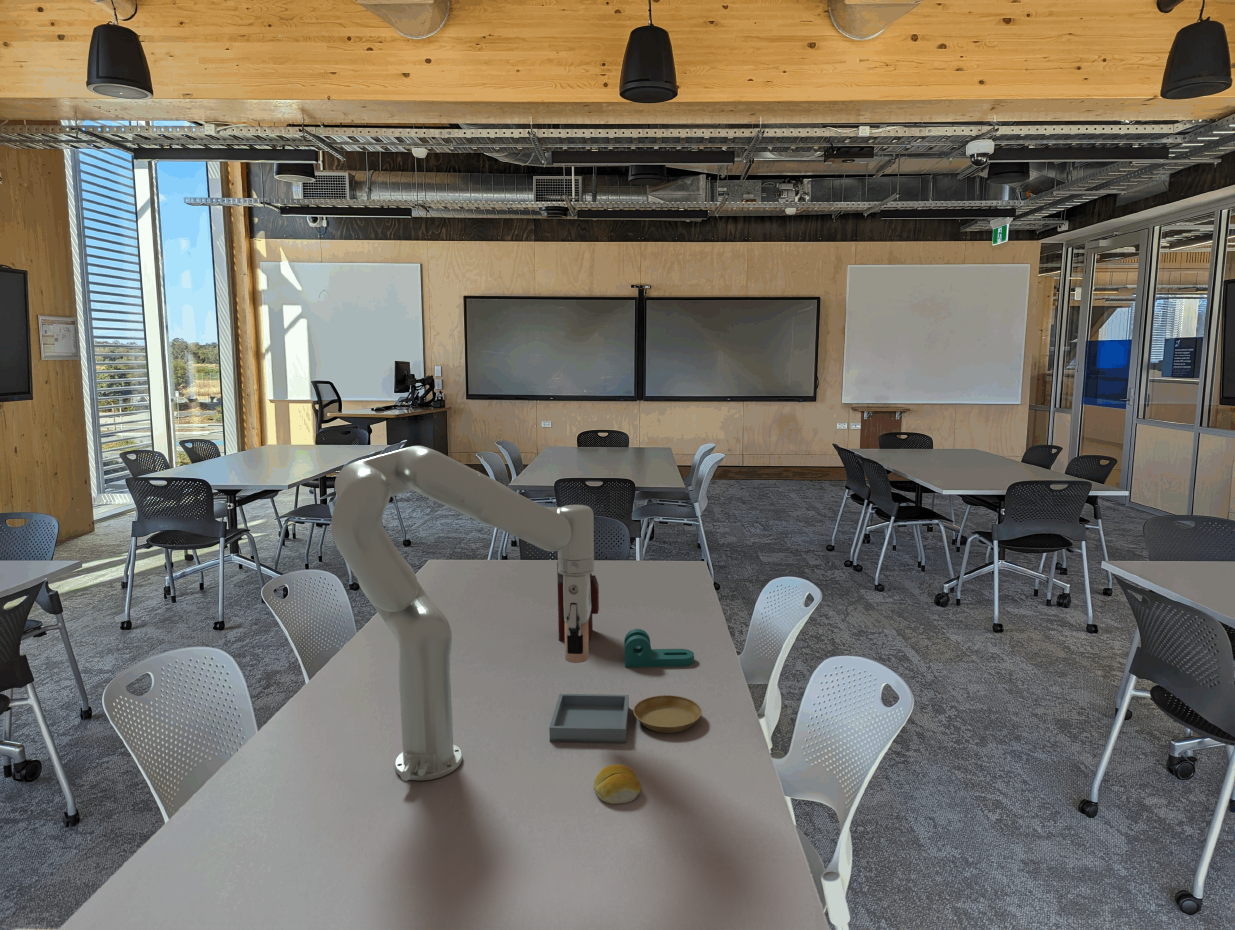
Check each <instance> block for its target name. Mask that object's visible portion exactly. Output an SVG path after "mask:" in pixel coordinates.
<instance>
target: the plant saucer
mask: <svg viewBox="0 0 1235 930" xmlns="http://www.w3.org/2000/svg"><path fill="white" fill-rule="evenodd" d="M632 712H633V715H634V717H635V718H636V719H637V721H638V722H640V724H641V725H643V726H644V727H645V728H647V729H649V730H651V731H654V732H657V733H664V734H675V733H679V732H684V731H685V730H688V729H690V727H692V726H693V725H694V724H695V723H696V722H697V721H698V720H699V719H700V718H701V716H702V708H701V707H700V705H699V704H698V703H697V702H695V701H694V700H692V699H689V698H686V697H684V696H678V695H671V694H668V695H667V694H664V695H655V696H650V697H647V698H644V699H642V700H640V701H638V702H637V703H636V704H635V705H634V707H633V711H632Z"/></svg>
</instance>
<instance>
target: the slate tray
mask: <svg viewBox="0 0 1235 930" xmlns="http://www.w3.org/2000/svg"><path fill="white" fill-rule="evenodd" d="M629 695H630V694H602V693H601V694H599V693H598V694H594V693H593V694H591V693H587V694H586V693H559V694H558V698H557V701H556V704H555V708H554V710H553V711H554V712H553V714H552V718H551V722H550V724H549V727H548V728H549V733H548V734H549V742H555V743H558V742H559V743H560V742H561V743H562V742H563V743H603V744H604V743H605V744H606V743H607V744H617V743H618V744H626V743H627V733H628V722H629V711H630V710H629V709H630V707H629V706H630V702H629V701H630V700H629V699H630V698H629V697H630V696H629Z"/></svg>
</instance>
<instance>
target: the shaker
mask: <svg viewBox="0 0 1235 930" xmlns="http://www.w3.org/2000/svg"><path fill="white" fill-rule="evenodd" d="M576 620H580V618H576ZM588 620H589V619H588ZM564 621H565V620H564ZM576 626H578V627H579V624H576ZM567 635H568V622H566V621H565V641H564V659H565V662H568V663H572V664H579V663H581V664H582V663H585V662H587V661H588V660H589V659H590V658H589V657H590V656H589V654H590V653H589V652H590V650H589V648H590V647H589V642H590V641H589V639H588V621H587V622H584V621H582V634H581V635H583V653H582V654H569V653H568V652H567Z"/></svg>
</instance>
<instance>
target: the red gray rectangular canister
mask: <svg viewBox="0 0 1235 930" xmlns="http://www.w3.org/2000/svg"><path fill="white" fill-rule="evenodd" d="M556 569H557V571H556V573H557V574H556V575H557V576H556V577H557V579H556V580H557V611H558V612H557V614H558V615H557V616H558V617H557V619H558V620H557V621H558V622H557V623H558V624H557V625H558V641H560V642H565V621H564V599H563V575H562V574H560V573H559V572H558V560H557V562H556ZM599 586H600V585H599V583H598V579H597V576H596V575H595V574H594V575H593V574H592V573H591V574H590V587H591V612H590V616H589V620H588V639H589V642H590V641H591V639H592V634H593V615H598V614H599V611H600V604H599V603H600V601H599V600H600V594H599V593H600V592H599V591H600V590H599V589H600V588H599Z"/></svg>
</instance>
